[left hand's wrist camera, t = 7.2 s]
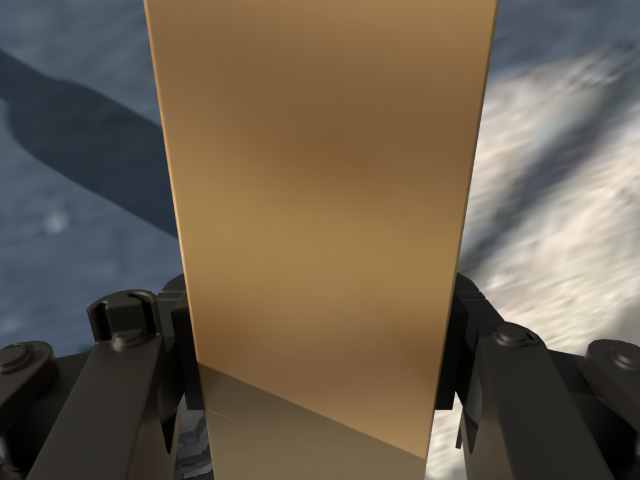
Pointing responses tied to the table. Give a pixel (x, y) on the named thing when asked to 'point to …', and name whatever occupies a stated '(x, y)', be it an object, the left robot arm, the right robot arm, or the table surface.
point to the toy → (196, 460)
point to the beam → (320, 219)
